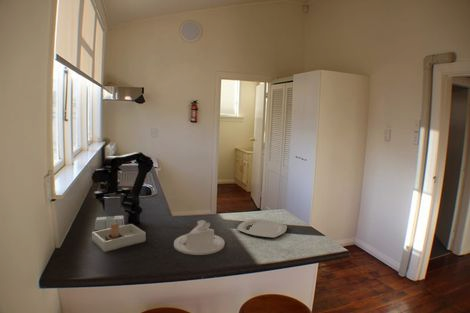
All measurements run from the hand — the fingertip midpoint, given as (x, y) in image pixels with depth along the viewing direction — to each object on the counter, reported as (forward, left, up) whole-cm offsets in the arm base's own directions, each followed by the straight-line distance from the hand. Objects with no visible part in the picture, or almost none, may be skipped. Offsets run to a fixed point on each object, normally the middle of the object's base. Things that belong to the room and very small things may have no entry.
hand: (112, 208), depth 160 cm
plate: (-66, +49, -13) cm, 83 cm away
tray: (+3, +16, -12) cm, 20 cm away
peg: (+5, +16, -11) cm, 20 cm away
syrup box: (+6, -8, -9) cm, 13 cm away
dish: (-26, +43, -12) cm, 52 cm away
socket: (+5, +16, -12) cm, 21 cm away
